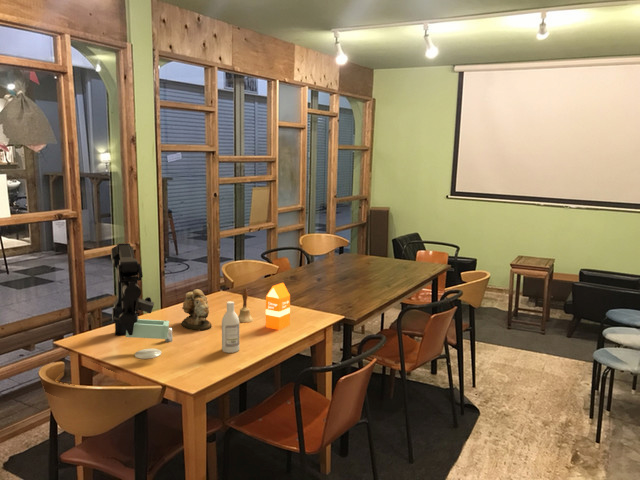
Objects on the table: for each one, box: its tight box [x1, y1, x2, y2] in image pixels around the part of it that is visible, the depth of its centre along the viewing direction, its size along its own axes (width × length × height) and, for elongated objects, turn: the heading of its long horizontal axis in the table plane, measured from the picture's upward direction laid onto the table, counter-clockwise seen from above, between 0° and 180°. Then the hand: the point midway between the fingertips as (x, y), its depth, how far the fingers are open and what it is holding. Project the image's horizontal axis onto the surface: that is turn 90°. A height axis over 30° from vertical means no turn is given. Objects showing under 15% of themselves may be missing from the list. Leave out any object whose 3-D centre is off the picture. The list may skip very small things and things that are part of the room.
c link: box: [125, 318, 170, 340], centre depth 205 cm, size 15×12×5 cm
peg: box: [164, 326, 173, 343], centre depth 221 cm, size 3×3×6 cm
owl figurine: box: [181, 288, 213, 332], centre depth 242 cm, size 18×12×17 cm, turn 48°
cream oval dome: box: [134, 348, 162, 360], centre depth 206 cm, size 10×10×1 cm
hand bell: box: [237, 287, 254, 324], centre depth 251 cm, size 8×8×16 cm
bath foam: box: [221, 300, 240, 354], centre depth 211 cm, size 7×7×20 cm
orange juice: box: [265, 282, 291, 331], centre depth 243 cm, size 8×9×20 cm
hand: (131, 334), depth 199 cm, fingers closed on c link, 2 cm apart
